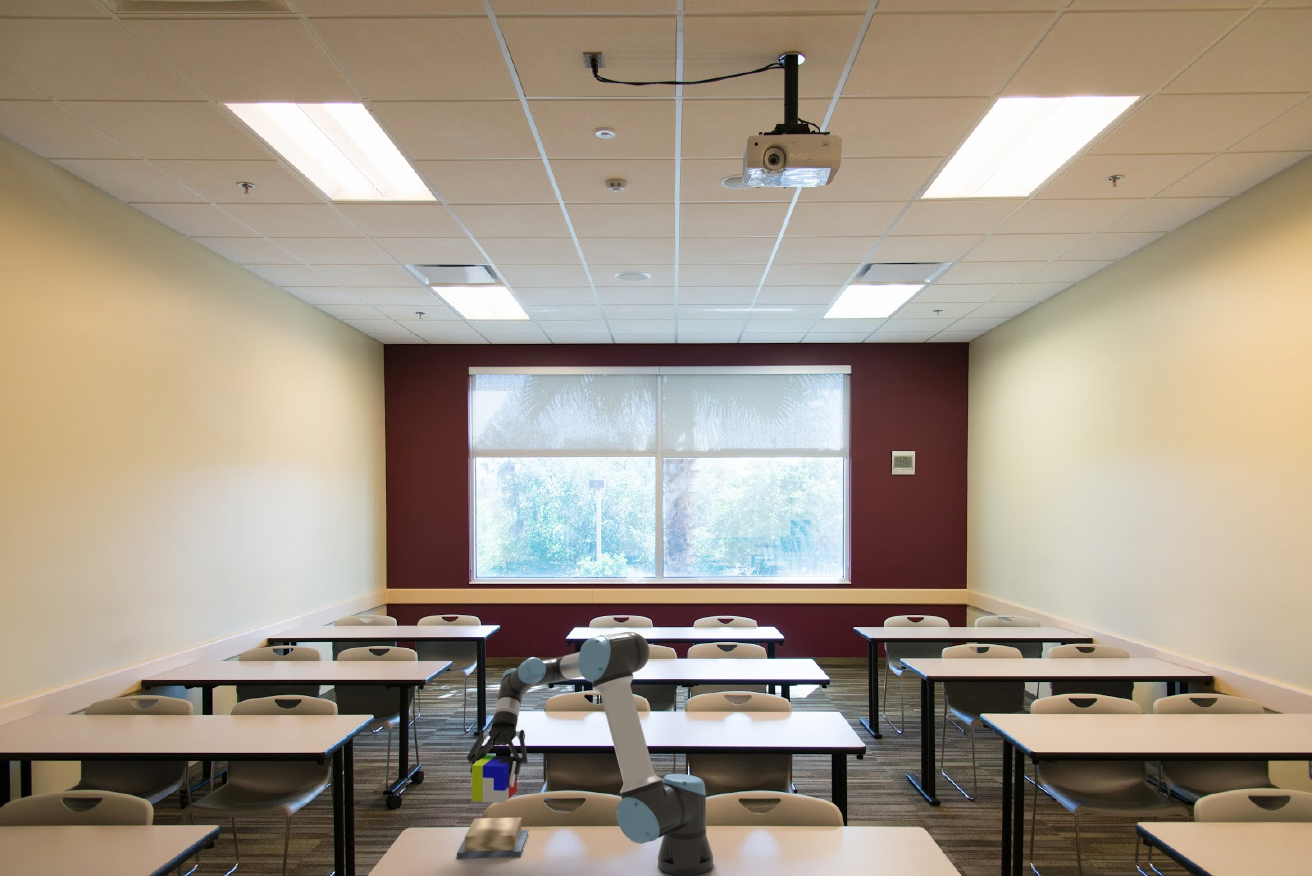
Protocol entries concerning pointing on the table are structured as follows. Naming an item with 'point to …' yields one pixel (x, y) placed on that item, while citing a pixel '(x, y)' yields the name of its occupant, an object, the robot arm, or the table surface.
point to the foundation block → (493, 838)
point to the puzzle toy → (493, 779)
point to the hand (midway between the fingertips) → (492, 784)
